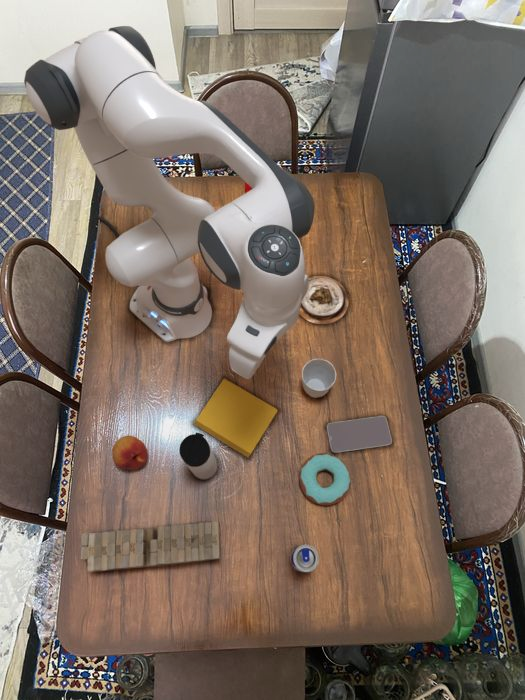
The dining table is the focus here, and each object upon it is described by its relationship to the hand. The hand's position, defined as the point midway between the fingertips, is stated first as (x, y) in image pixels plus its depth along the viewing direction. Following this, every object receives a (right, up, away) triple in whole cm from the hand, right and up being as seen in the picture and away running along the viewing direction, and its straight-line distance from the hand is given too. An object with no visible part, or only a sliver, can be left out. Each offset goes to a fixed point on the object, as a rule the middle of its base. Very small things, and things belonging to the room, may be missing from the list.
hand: (270, 341), depth 94 cm
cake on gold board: (+15, +12, +48) cm, 51 cm away
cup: (+12, -11, +38) cm, 41 cm away
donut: (+13, -32, +29) cm, 45 cm away
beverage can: (+7, -49, +22) cm, 54 cm away
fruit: (-33, -27, +31) cm, 53 cm away
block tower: (-25, -46, +23) cm, 57 cm away
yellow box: (-8, -18, +35) cm, 40 cm away
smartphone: (+22, -22, +33) cm, 46 cm away
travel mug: (-15, -29, +30) cm, 45 cm away
